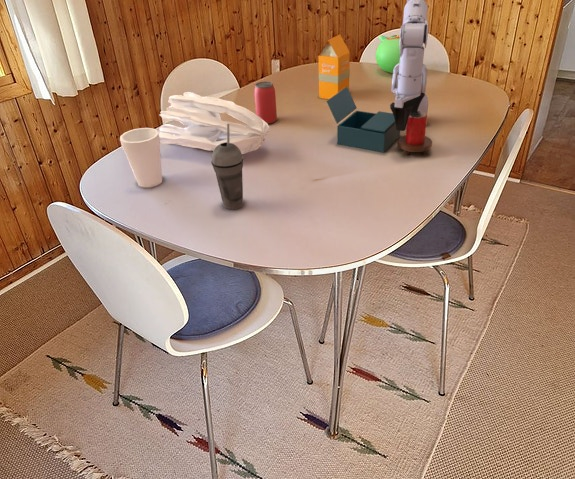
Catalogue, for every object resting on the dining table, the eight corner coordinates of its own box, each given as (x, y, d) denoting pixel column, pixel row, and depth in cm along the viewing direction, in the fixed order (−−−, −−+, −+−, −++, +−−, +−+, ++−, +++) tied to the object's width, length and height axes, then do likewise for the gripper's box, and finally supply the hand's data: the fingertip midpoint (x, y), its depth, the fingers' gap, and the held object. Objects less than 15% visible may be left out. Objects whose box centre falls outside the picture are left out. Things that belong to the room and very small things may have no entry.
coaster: (413, 143, 141) (414, 131, 139) (437, 153, 134) (439, 141, 132) (390, 152, 137) (391, 140, 135) (414, 163, 130) (415, 150, 128)
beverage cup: (218, 198, 121) (206, 119, 109) (248, 195, 121) (239, 117, 109) (217, 214, 115) (204, 132, 103) (248, 211, 115) (239, 129, 103)
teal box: (337, 145, 142) (337, 123, 138) (355, 129, 151) (356, 107, 147) (383, 154, 136) (384, 131, 132) (399, 136, 145) (401, 114, 141)
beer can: (274, 125, 157) (272, 87, 150) (254, 124, 158) (251, 87, 151) (279, 117, 162) (276, 80, 155) (259, 117, 164) (256, 80, 157)
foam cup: (136, 194, 125) (124, 146, 117) (128, 179, 131) (116, 133, 124) (172, 184, 128) (163, 137, 120) (163, 170, 135) (153, 125, 127)
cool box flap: (337, 123, 138) (336, 123, 138) (356, 108, 147) (355, 108, 147) (327, 100, 136) (326, 101, 136) (347, 86, 145) (346, 87, 145)
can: (419, 136, 136) (421, 109, 132) (427, 143, 132) (430, 116, 128) (402, 138, 135) (404, 112, 131) (410, 146, 131) (413, 118, 127)
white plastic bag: (284, 110, 141) (185, 94, 155) (254, 93, 124) (146, 77, 138) (271, 169, 142) (174, 148, 156) (239, 160, 126) (135, 137, 140)
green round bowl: (374, 78, 190) (376, 38, 182) (375, 66, 204) (377, 28, 195) (422, 78, 187) (426, 37, 179) (420, 65, 201) (423, 27, 193)
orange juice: (349, 93, 178) (350, 34, 167) (338, 100, 172) (338, 40, 161) (330, 90, 182) (330, 32, 171) (318, 97, 176) (317, 38, 165)
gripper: (404, 64, 132) (400, 113, 139) (384, 80, 122) (381, 132, 129) (430, 67, 129) (425, 117, 136) (412, 83, 118) (407, 136, 126)
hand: (405, 125), depth 133 cm, fingers open, 7 cm apart
